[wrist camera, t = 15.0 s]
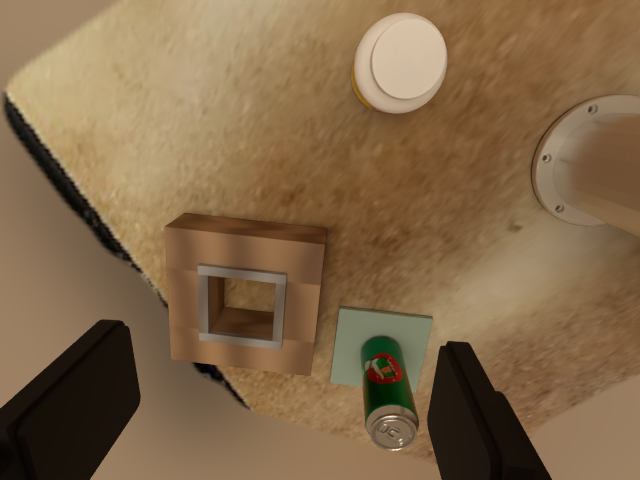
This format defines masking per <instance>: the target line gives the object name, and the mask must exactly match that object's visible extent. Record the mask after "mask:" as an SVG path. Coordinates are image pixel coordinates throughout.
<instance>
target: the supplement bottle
mask: <svg viewBox="0 0 640 480" xmlns="http://www.w3.org/2000/svg"><path fill="white" fill-rule="evenodd" d="M446 68H447V50H446V45H445V42H444V39H443V37H442V35H441V33H440V32H439V30H438V29H437V28H436V26H435V25H434V24H433V23H431V22H430V21H429V20H427V19H426V18H424V17H422V16H420V15H417V14H413V13H396V14H392V15H389V16H386V17H384V18H382V19H381V20H379V21H378V22H376V23H375V24H374V25H373V26H372V27H371V28H370V29H369V30H368V31H367V32H366V34H365V35H364V36H363V38H362V40H361V41H360V44H359V46H358V48H357V51H356V55H355V58H354V61H353V64H352V69H351V82H352V87H353V90H354V92H355V94H356V96H357V97H358V99H359V100H360V101H361V102H362V103H363V104H364V105H365V106H367V107H368V108H370V109H372V110H375V111H379V112H386V113H394V114H399V113H407V112H410V111H413V110H416V109H418V108H420V107H421V106H423V105H424V104H426V103H427V102H428V101H429V100H430V99H431V98H432V97H433V96H434V95H435V93H436V92H437V91H438V89H439V88H440V86H441V84H442V82H443V79H444V77H445V73H446Z"/></svg>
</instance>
